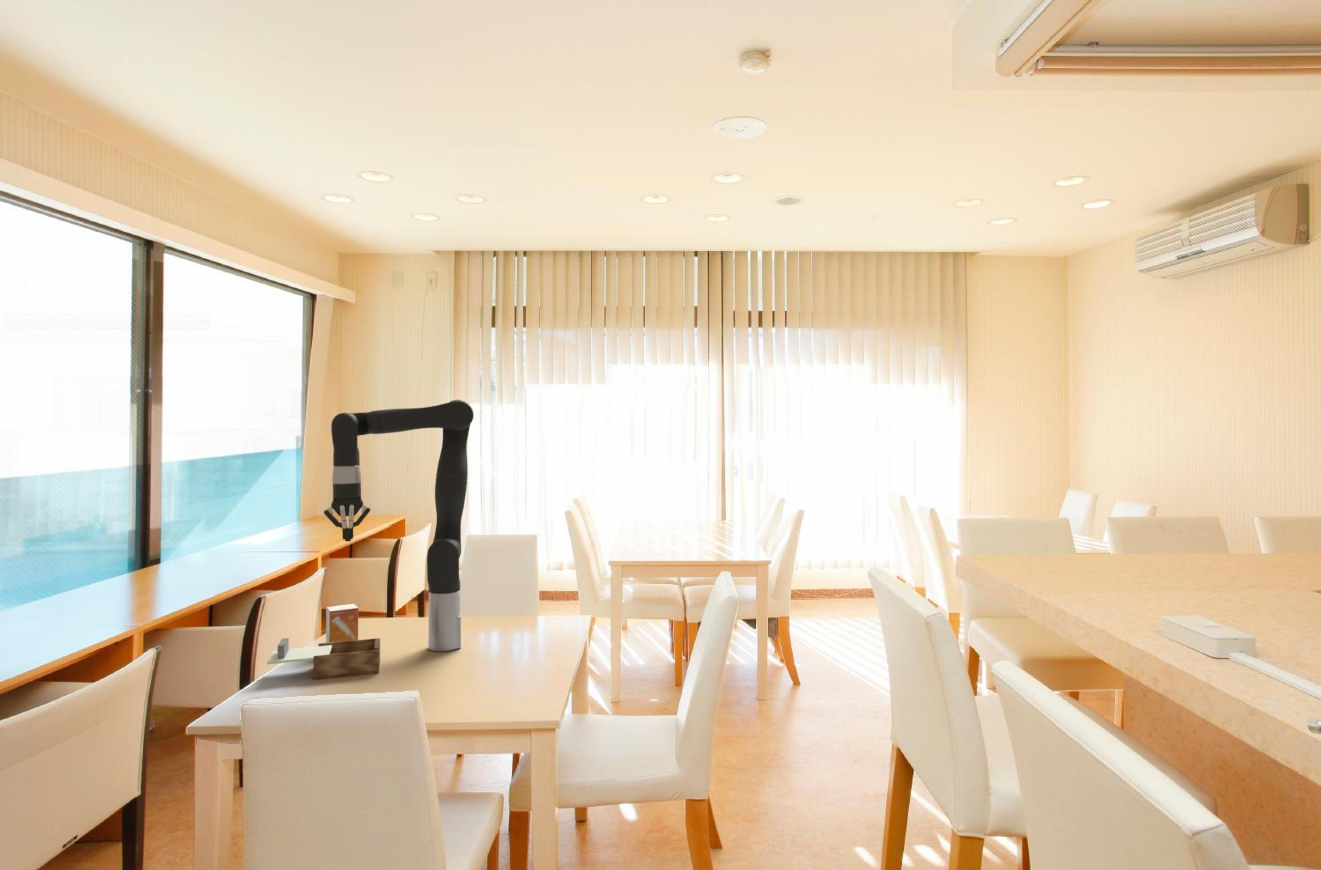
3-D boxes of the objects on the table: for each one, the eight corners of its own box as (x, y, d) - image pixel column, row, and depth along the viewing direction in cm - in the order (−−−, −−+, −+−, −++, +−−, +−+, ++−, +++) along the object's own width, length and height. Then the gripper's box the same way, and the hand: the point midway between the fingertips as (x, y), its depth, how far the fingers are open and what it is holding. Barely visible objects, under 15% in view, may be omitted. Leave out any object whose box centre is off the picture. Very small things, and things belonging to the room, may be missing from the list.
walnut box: (380, 659, 205) (380, 636, 205) (378, 672, 194) (378, 649, 194) (318, 665, 200) (318, 642, 200) (313, 679, 188) (313, 655, 188)
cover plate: (332, 647, 200) (332, 632, 200) (328, 658, 190) (328, 643, 190) (274, 652, 195) (274, 637, 195) (266, 664, 185) (266, 648, 185)
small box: (329, 655, 209) (329, 611, 209) (325, 650, 214) (325, 606, 214) (358, 650, 213) (358, 607, 213) (354, 645, 219) (354, 603, 219)
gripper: (371, 479, 214) (372, 537, 214) (323, 481, 209) (324, 540, 209) (371, 481, 207) (372, 541, 207) (320, 483, 202) (321, 544, 202)
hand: (347, 540), depth 208 cm, fingers closed
